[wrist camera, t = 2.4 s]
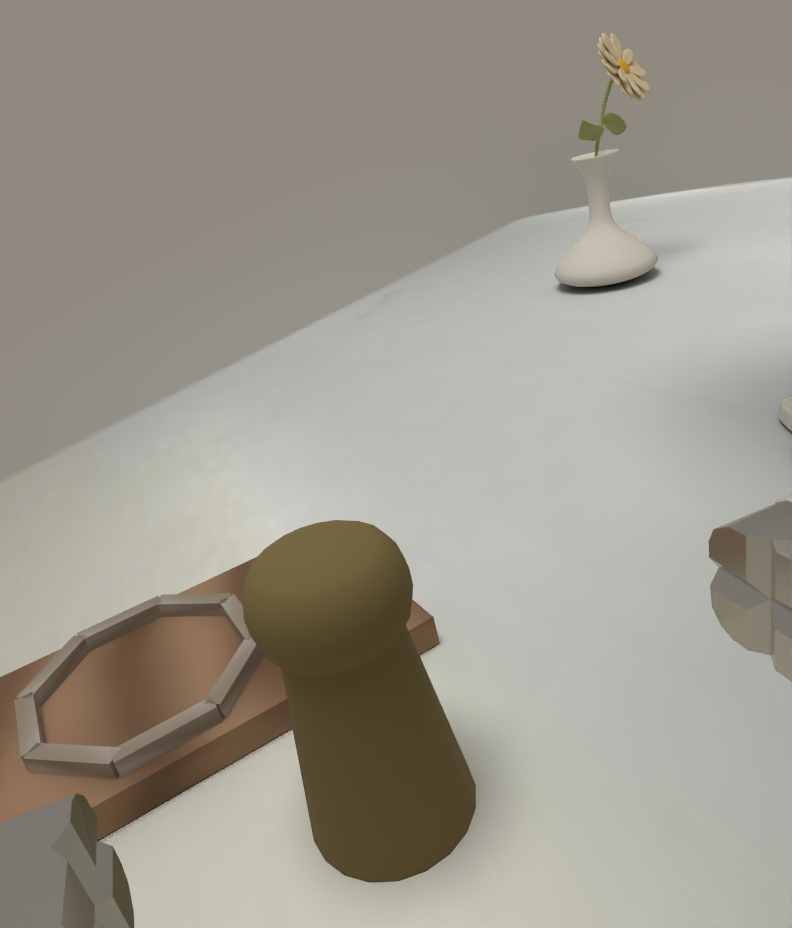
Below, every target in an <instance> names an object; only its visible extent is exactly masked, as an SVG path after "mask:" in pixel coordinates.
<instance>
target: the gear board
mask: <svg viewBox="0 0 792 928" xmlns="http://www.w3.org/2000/svg"><path fill="white" fill-rule="evenodd" d="M256 558H257V557H256ZM256 558H254V559H252V560H250V561H247V562H245V563H243V564H241V565H239V566H237V567H235V568H232V569H230V570H228V571H226V572H224V573H222V574H220V575H218V576H215V577H213V578H211V579H209V580H207V581H205V582H203V583H201V584H198V585H196V586H194V587H192V588H190V589H188V590H186V591H183V592H181V593H179V594H175V595H161V596H160V597H159V596H156V597H154V598H152V599H150V600H148V601H146V602H144V603H141V604H139V605H137V606H135V607H133V608H131V609H129V610H126V611H124V612H122V613H120V614H118V615H116V616H113V617H111V618H109V619H107V620H105V621H103V622H101V623H98V624H96V625H94V626H92V627H90V628H88V629H86V630H83V631H81V632H79V633H77V635H78V636H73V637H72V638H71V639H70V640H69V641H68V642H67V644H66V645H65V646H64V647H63V648H62V649H60V650H58V651H56V652H53V653H51V654H49V655H47V656H45V657H43V658H41V659H39V660H36V661H34V662H32V663H30V664H28V665H26V666H24V667H22V668H19V669H17V670H15V671H13V672H11V673H9V674H7V675H4V676H2V677H0V823H2V822H4V821H7V820H9V819H12V818H15V817H17V816H20V815H22V814H25V813H27V812H30V811H32V810H35V809H38V808H40V807H43V806H45V805H48V804H50V803H53V802H56V801H58V800H61V799H63V798H66V797H68V796H71V795H73V794H76V793H77V794H80V795H83V796H85V798H86V799H87V801H88V803H89V805H90V806H91V808H92V810H93V811H94V813H95V815H96V816H97V841H98V840H99V839H101V838H103V837H104V836H106V835H108V834H110V833H111V832H113V831H115V830H117V829H118V828H120V827H122V826H124V825H125V824H127V823H129V822H130V821H132V820H134V819H136V818H137V817H139V816H141V815H143V814H144V813H146V812H148V811H150V810H151V809H153V808H155V807H156V806H158V805H160V804H162V803H163V802H165V801H167V800H169V799H170V798H172V797H174V796H176V795H177V794H179V793H181V792H182V791H184V790H186V789H188V788H189V787H191V786H193V785H195V784H196V783H198V782H200V781H201V780H203V779H205V778H207V777H208V776H210V775H212V774H214V773H215V772H217V771H219V770H221V769H222V768H224V767H226V766H227V765H229V764H231V763H233V762H234V761H236V760H238V759H240V758H241V757H243V756H245V755H247V754H248V753H250V752H252V751H253V750H255V749H257V748H259V747H260V746H262V745H264V744H266V743H267V742H269V741H271V740H272V739H274V738H276V737H278V736H279V735H281V734H283V733H285V732H286V731H288V730H290V729H292V723H291V717H290V712H289V707H288V702H287V696H286V691H285V686H284V681H283V676H282V670H281V667H279V666H277V665H275V664H273V663H271V662H269V660H268V659H267V658H266V656H265V655H264V654H263V653H262V651H261V650H260V649H259V647H258V646H257V645H256V643H255V642H254V640H253V639H252V638H251V636H250V634H249V632H248V629H247V627H246V624H245V622H244V614H243V600H242V588H243V585H244V581H245V578H246V575H247V573H248V571H249V568H250V566H251V564H252V562H253V561H254V560H255V559H256ZM406 626H407V628H408V631H409V633H410V635H411V638H412V640H413V642H414V644H415V647H416V649H417V651H418V654H419V655H420V654H421V653H423V652H425V651H427V650H428V649H430V648H432V647H434V646H435V645H437V644H439V639H438V635H437V630H436V626H435V622H434V618H433V616H431V615H430V614H429V613H428V612H427V611H425V610H424V609H423V608H422V607H421V606H419V605H418V604H417V603H416V602H415V601H413V600H412V606H411V615H410V618H409V620H408V622H407V624H406Z"/></svg>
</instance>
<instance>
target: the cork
mask: <svg viewBox="0 0 792 928" xmlns="http://www.w3.org/2000/svg"><path fill="white" fill-rule="evenodd" d="M412 593H413V583H412V579H411V574H410V570H409V567H408V565H407V563H406V560H405V558H404V556H403V554H402V553H401V551H400V549H399V547H398V546H397V544H396V542H394V541H393V540H392V539H391V538H390V537H388V536H387V535H386V534H385V533H384V532H382V531H381V530H379V529H378V528H377V527H375V526H374V525H370V524H367V523H363V522H359V521H342V520H334V521H327V522H320V523H315V524H312V525H309V526H305V527H302V528H299V529H297V530H295V531H293V532H291V533H289V534H286V535H284V536H283V537H281V538H280V539H278V540H277V541H275V542H274V543H272V544H271V545H270V546H268V547H267V548H266V549H264V550H263V552H262V553H261V554H260V555H259V556H258V557H257V558H256V559H255V560H254V561H253V562H252V564H251V566H250V568H249V571H248V573H247V575H246V578H245V581H244V585H243V588H242V600H243V614H244V622H245V624H246V627H247V629H248V632H249V634H250V636H251V638H252V639H253V640H254V642H255V643H256V645H257V646H258V647H259V649H260V650H261V651H262V653H263V654H264V655H265V656H266V658H267V659H268V660H269V662H271V663H273V664H275V665H277V666H279V667H281V670H282V676H283V681H284V686H285V691H286V696H287V702H288V707H289V712H290V717H291V723H292V728H293V733H294V738H295V743H296V749H297V754H298V759H299V764H300V770H301V775H302V780H303V785H304V790H305V796H306V801H307V806H308V811H309V817H310V822H311V827H312V832H313V837H314V842H315V843H316V845H317V847H318V849H319V850H320V852H321V854H322V855H323V857H324V859H325V861H327V862H328V863H329V864H331V865H332V866H333V867H335V868H336V869H337V870H339V871H340V872H341V873H343V874H344V875H346V876H350V877H353V878H357V879H360V880H364V881H368V882H383V881H399V880H402V879H404V878H407V877H410V876H413V875H416V874H418V873H421V872H424V871H426V870H428V869H429V868H431V867H432V866H433V865H435V864H436V863H438V862H439V861H440V860H442V859H443V858H444V857H446V856H447V855H449V854H450V853H451V852H452V850H453V849H454V848H455V846H456V845H457V844H458V843H459V841H460V840H461V839H462V837H463V836H464V835H465V833H466V832H467V830H468V827H469V824H470V822H471V819H472V816H473V813H474V810H475V783H474V780H473V778H472V776H471V773H470V771H469V768H468V766H467V763H466V761H465V759H464V756H463V754H462V752H461V750H460V747H459V745H458V743H457V740H456V738H455V736H454V734H453V731H452V729H451V727H450V724H449V722H448V720H447V718H446V715H445V713H444V711H443V708H442V706H441V704H440V702H439V699H438V697H437V695H436V692H435V690H434V688H433V686H432V683H431V681H430V679H429V676H428V674H427V672H426V670H425V667H424V665H423V663H422V660H421V658H420V656H419V654H418V651H417V649H416V647H415V644H414V642H413V640H412V638H411V635H410V633H409V631H408V628H407V626H406V624H407V622H408V620H409V618H410V615H411V606H412Z"/></svg>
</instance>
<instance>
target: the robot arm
mask: <svg viewBox="0 0 792 928" xmlns="http://www.w3.org/2000/svg"><path fill="white" fill-rule="evenodd" d="M779 419H780V421H781V422H782V423H783V424H784V425H785V426H786V427H787V428H788V429H790V430H791V431H792V395H791V396H789V397H786V398H784V399H783V400H782V401H781V403H780V409H779ZM709 558H710V559H711V560H712V561H713V562H714V563H715V564H716V565H717V566H718V567H719V569H718V571H717V573H716V575H715V577H714V579H713V581H712V583H711V585H710V588H711V600H712V608H713V610H714V612H715V614H716V616H717V618H718V620H719V622H720V624H721V626H722V627H723V628H724V630H725V631H726V632H727V633H728V634H729V635H730V636H731V638H732V639H734V640H735V641H736V642H738V643H739V644H740V645H742V646H743V647H744V648H746V649H747V650H750V651H755V652H759V653H763V654H768V655H771V658H772V661H773V664H774V668H775V670H776V671H777V672H779V673H780V674H782V675H783V676H784V677H786V678H787V679H789V680H790V681H791V682H792V495H791V496H788V497H786V498H784V499H782V500H779V501H777V502H776V503H775V504H773V505H770V506H768V507H766V508H763V509H761V510H759V511H756V512H754V513H751V514H749V515H747V516H744V517H742V518H740V519H737V520H735V521H733V522H730V523H728V524H725V525H723V526H721V527H718V528H716V529H714V530H713V532H712V535H711V537H710V540H709ZM0 928H134V912H133V906H132V901H131V895H130V890H129V885H128V881H127V878H126V875H125V873H124V870H123V867H122V864H121V862H120V860H119V858H118V856H117V854H116V852H115V850H114V848H113V846H110V845H107V844H105V843H102V842H99V841H97V816H96V815H95V813H94V811H93V810H92V808H91V806H90V805H89V803H88V801H87V799H86V798H85V796H83V795H80V794H77V793H76V794H73V795H71V796H68V797H66V798H63V799H61V800H58V801H56V802H53V803H50V804H48V805H45V806H43V807H40V808H38V809H35V810H32V811H30V812H27V813H25V814H22V815H20V816H17V817H15V818H12V819H9V820H7V821H4V822H2V823H0Z"/></svg>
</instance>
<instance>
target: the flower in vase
mask: <svg viewBox="0 0 792 928" xmlns="http://www.w3.org/2000/svg"><path fill="white" fill-rule="evenodd" d="M610 37H611V39H608V37H607V35H606V34H605V33H602V38H601V37H600V38H599V43H600V44H599V43H598V44H597V45H598V49H599V51H598V53H599V56H600V58H601V59H602V63H603V65H604V67H605V68H606V69H607V70H608V71H607V74H608V76H609V77H610V78H611V79H610V82H609V85H608V88H607V91H606V94H605V98H604V101H603V106H602V112H601V118H600V124H599V126H597V125H593V124H590V123H588V122H585V121H582V123H581V127H580V132H579V138H580V139H582V140H590V141H595V140H596V146H595V152H593V153H589V154H584V155H581V156H577V157H574V158H572V159H571V161H572V162H573V163H574V164H575V165H576V167H577V168H578V169H579V171H580V173H581V175H582V177H583V180H584V183H585V186H586V191H587V195H588V202H589V214H590V216H589V224H588V227H587V229H586V231H585V233H584V234H583V236H582V237H581V238H580V239H579V240H578V241H577V243H576V244H575V245H574V246H573V247H572V248H571V249H570V250H569V251H568V252H567V254H566V255H565V256H564V257H563V258H562V260H561V261H560V262H559V264H558V265H557V267H556V271H555V277H556V278H557V279H558V281H559V282H561V283H563V284H567V285H571V286H575V287H596V286H605V285H611V284H616V283H620V282H624V281H627V280H631V279H634V278H636V277H639V276H641V275H642V274H644V273H646V272H647V271H649V270H651V269H652V268H653V267H654V266H655V264H656V262H657V260H658V258H657V255H656V253H655V251H654V250H653V249H652V248H650V247H649V246H648V245H647V244H645V243H644V242H642V241H641V240H639V239H638V238H636V237H634V236H632V235H631V234H629V233H627V232H626V231H624V230H623V229H621V228H620V227H619V226H618V225H617V224H616V223H615V221H614V220H613V218H612V214H611V209H610V201H609V180H610V172H611V168H612V164H613V161H614V159H615V157H616V155H617V153H618V151H619V150H618V149H610V150H603V151H598V148H599V142H600V137H601V135H602V133H603V131H604V128H603V127H602V125H603V124H604V125H605V127H606V128H607V129H608V130H609V131H610V132H612V133H613V134H615V135H619V134H621V133H622V132H623V131H624V130H625V129H626V125H625V123H624V121H623V119H622V118H621V117H620V116H618V115H616V114H614V113H607V114H606V116H605V118H604V112H605V107H606V102H607V99H608V95H609V92H610V89H611V86H612V83H613V81H614V83H615V84H616V85H617V86H618V87H619V88H620V89H621V91H622V92H623V93H624V94H625V95H627V94H628V95H629V96H630V97H631V98H633V99H637V100H639V101H640V100H641V99H643V100H645V96H644V95H643V93H645V91H646V92H650V89H649V87H648V84H647V83H646V82H645V81H644V80H643V79H641V78H639V77H646V72H645V70H644V69H642V68H640V67H639V64H638V63H637V62H636V61H633V57H634V55H633V52H632V50H630V49H629V48H628V49H626V50H625V51H622V47H621V43H620V41H619V40H618V39H617V38H616V36H615V35H614V34H613V33H611V35H610ZM640 98H641V99H640Z"/></svg>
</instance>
